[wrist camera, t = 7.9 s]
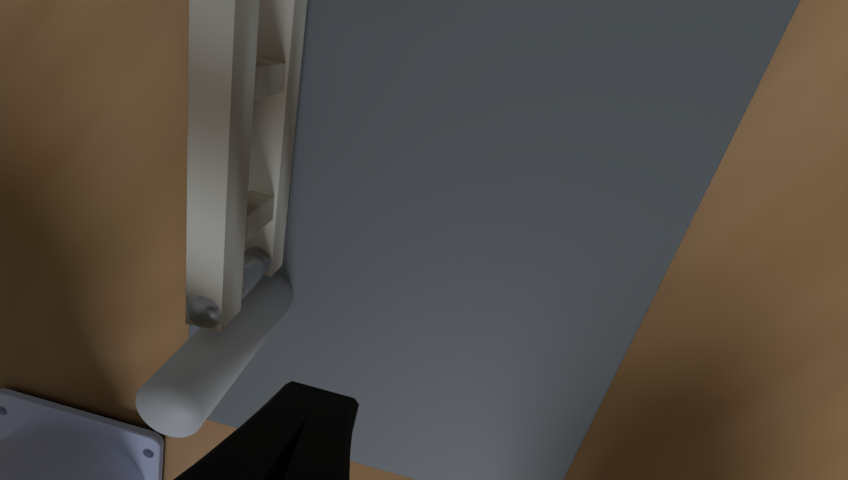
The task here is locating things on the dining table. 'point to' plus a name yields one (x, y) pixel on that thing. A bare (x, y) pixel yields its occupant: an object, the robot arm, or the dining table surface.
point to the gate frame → (478, 221)
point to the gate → (238, 148)
